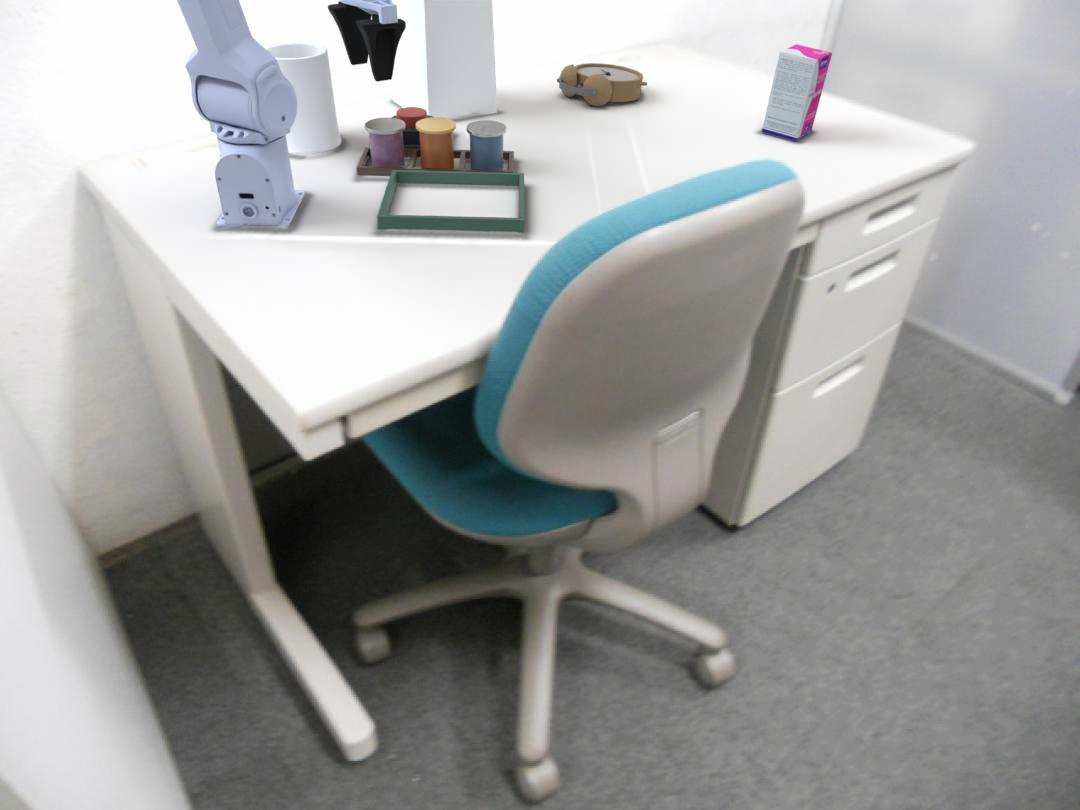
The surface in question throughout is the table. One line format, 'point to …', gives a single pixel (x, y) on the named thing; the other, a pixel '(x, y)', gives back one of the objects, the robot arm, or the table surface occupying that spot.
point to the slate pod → (486, 144)
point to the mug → (309, 97)
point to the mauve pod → (386, 142)
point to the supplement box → (796, 92)
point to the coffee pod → (436, 142)
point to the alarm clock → (601, 83)
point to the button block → (411, 136)
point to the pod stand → (459, 165)
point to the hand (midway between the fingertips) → (370, 71)
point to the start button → (411, 115)
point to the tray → (451, 221)
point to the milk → (446, 57)
